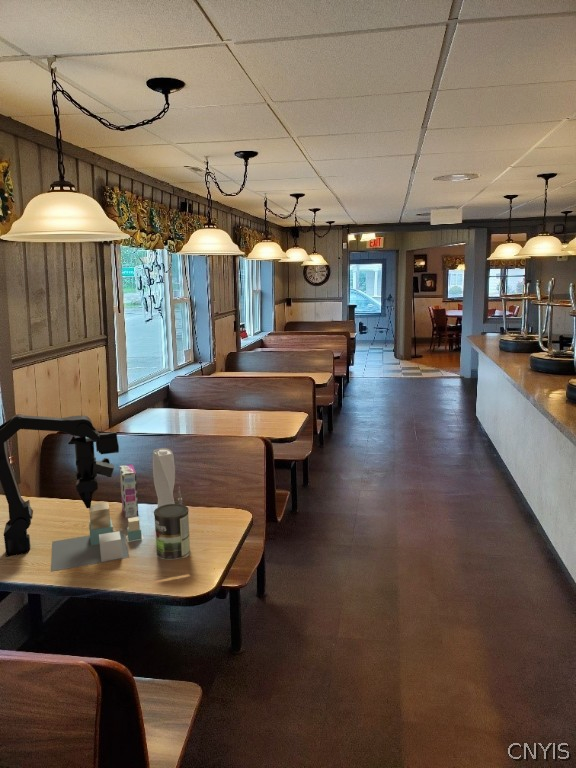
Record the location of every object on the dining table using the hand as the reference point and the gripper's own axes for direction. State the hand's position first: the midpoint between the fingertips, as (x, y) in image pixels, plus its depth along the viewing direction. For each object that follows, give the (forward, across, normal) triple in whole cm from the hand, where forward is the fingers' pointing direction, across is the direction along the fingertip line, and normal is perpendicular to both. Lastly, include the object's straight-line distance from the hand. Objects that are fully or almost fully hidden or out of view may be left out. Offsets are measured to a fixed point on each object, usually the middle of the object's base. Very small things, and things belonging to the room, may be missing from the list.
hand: (88, 502), depth 188 cm
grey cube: (+12, -15, -6) cm, 20 cm away
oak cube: (+7, -2, -3) cm, 8 cm away
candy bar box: (+13, +18, -14) cm, 26 cm away
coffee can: (+12, -20, -24) cm, 33 cm away
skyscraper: (+12, +2, -25) cm, 28 cm away
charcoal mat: (+13, -8, 0) cm, 15 cm away
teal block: (+12, -2, -3) cm, 13 cm away
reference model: (+12, -5, -13) cm, 19 cm away
